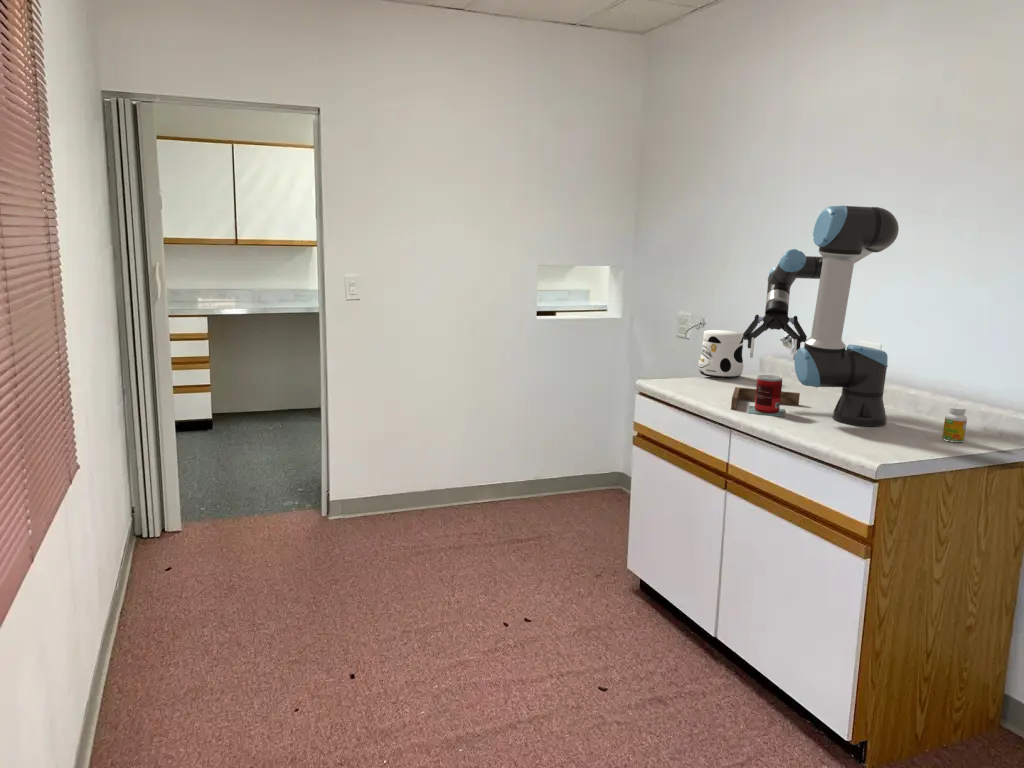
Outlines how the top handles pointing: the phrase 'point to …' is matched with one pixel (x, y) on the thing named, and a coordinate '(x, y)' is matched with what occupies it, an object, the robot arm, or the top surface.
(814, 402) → the top surface
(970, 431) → the top surface
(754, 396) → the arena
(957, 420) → the supplement bottle
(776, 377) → the canned food
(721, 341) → the milk container
